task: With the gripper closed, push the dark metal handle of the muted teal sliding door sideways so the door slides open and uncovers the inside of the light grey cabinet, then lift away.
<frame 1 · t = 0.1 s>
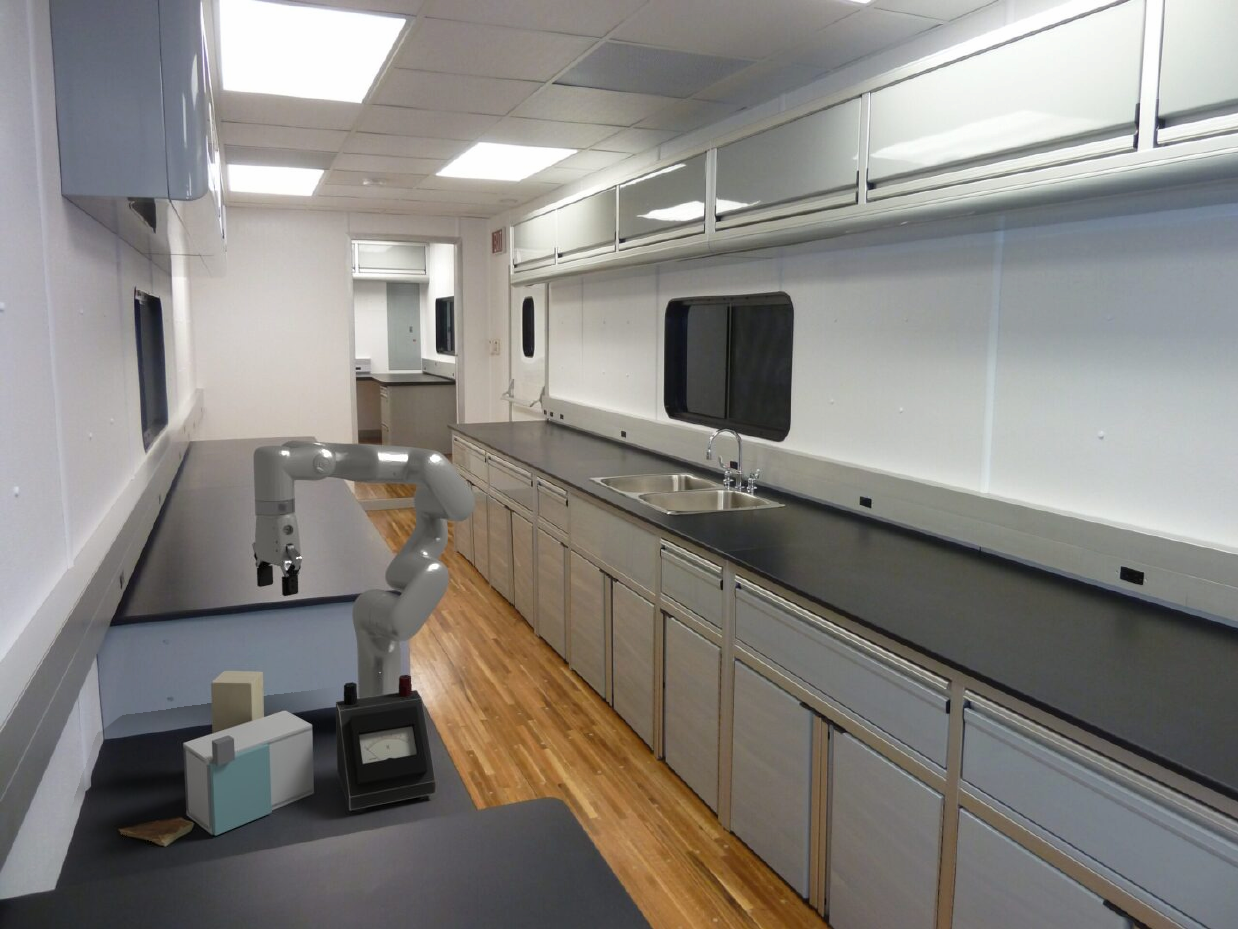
hand: (277, 590, 181), 37 cm above the counter, tool pointing down, fingers open, 9 cm apart
shard: (156, 840, 157), on the counter
storage cabinet: (251, 803, 168), on the counter
voltmeter: (385, 790, 175), on the counter
beige tall block: (241, 776, 179), on the counter
sliding door: (242, 779, 160), point 9 cm above the counter, slide at 0.0 cm
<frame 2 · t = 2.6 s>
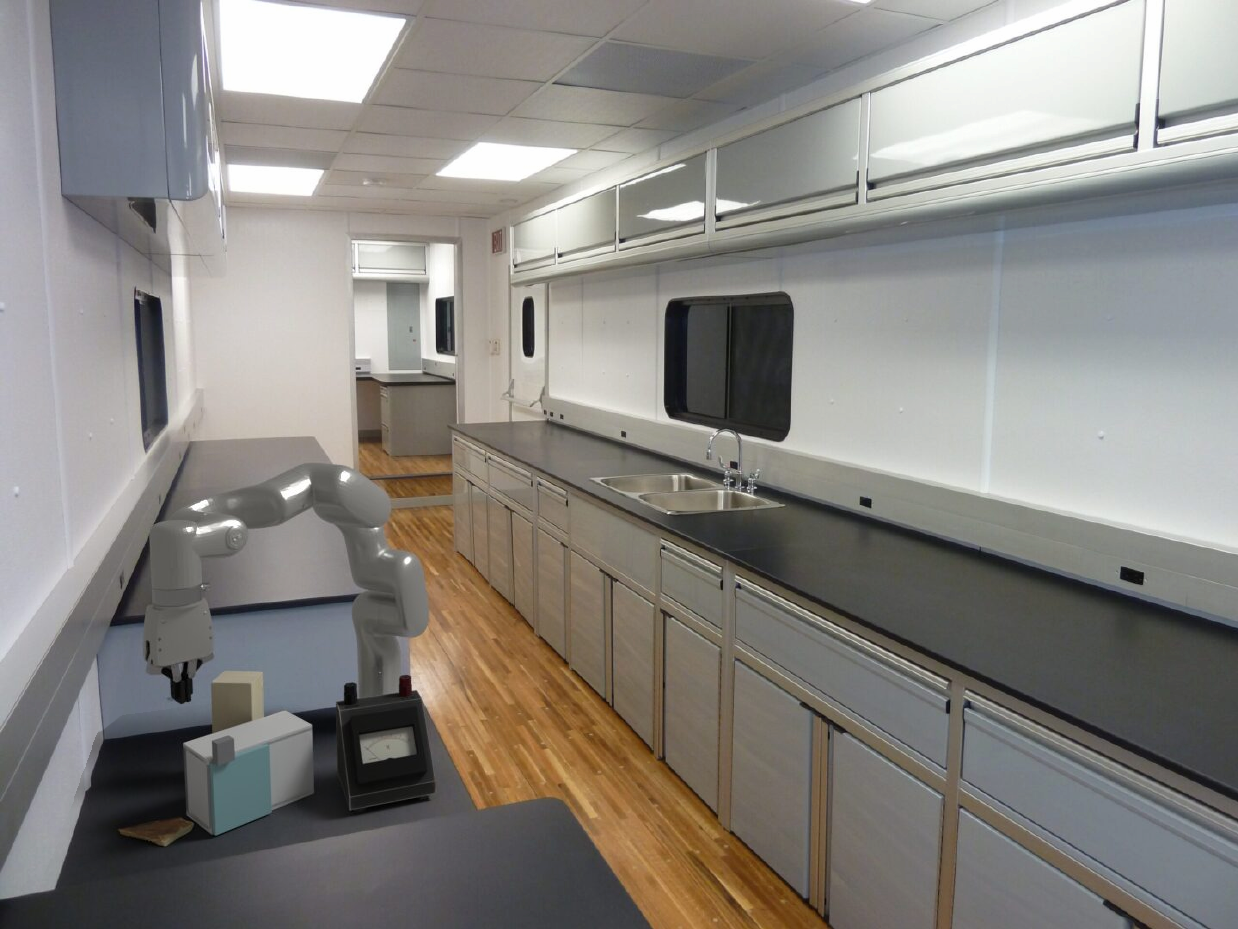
hand: (182, 700, 150), 27 cm above the counter, tool pointing down, fingers closed
nothing on the counter moved.
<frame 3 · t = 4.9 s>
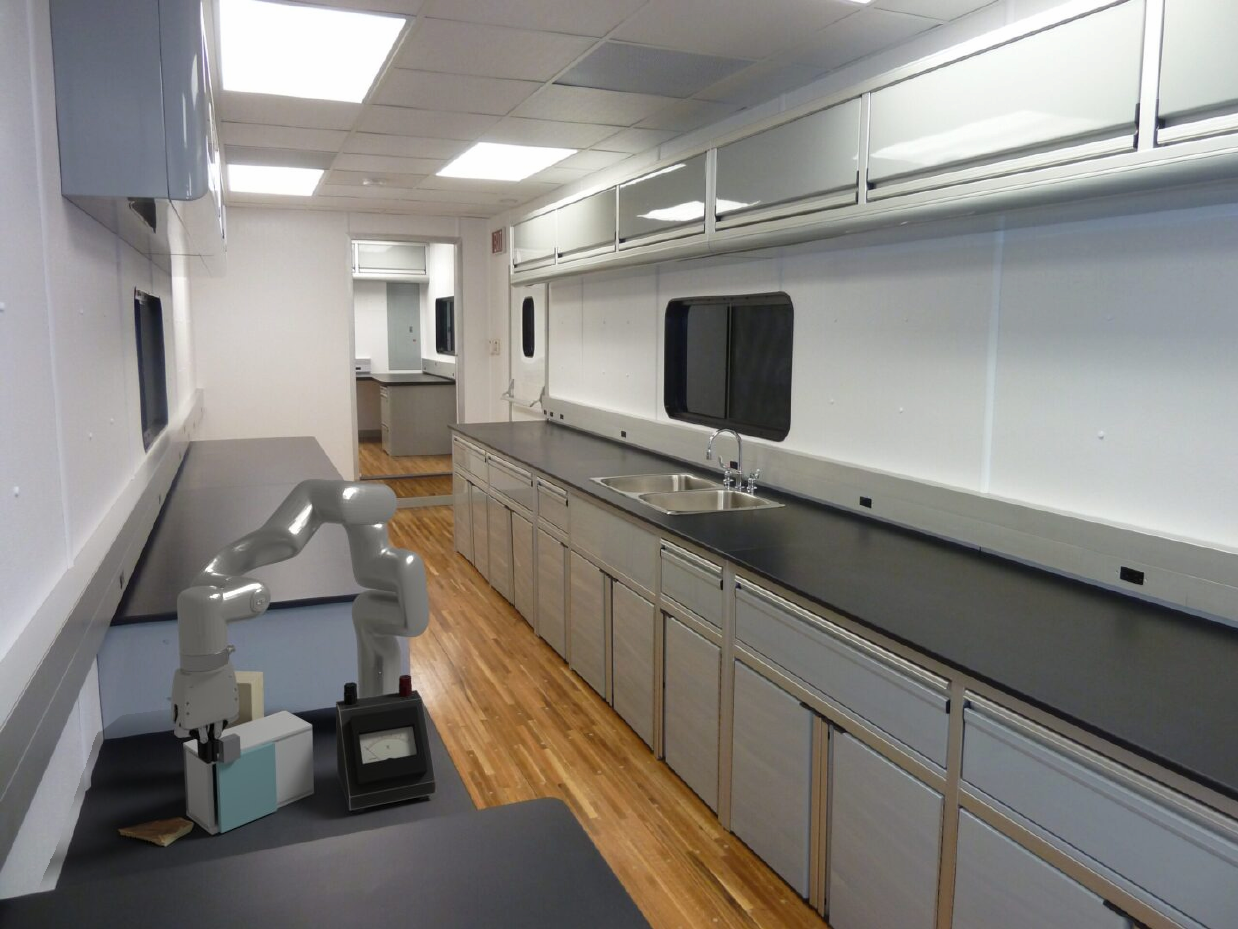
hand: (208, 760, 154), 15 cm above the counter, tool pointing down, fingers closed
sliding door: (248, 777, 160), point 9 cm above the counter, slide at 1.1 cm, touching gripper
everything else where it was.
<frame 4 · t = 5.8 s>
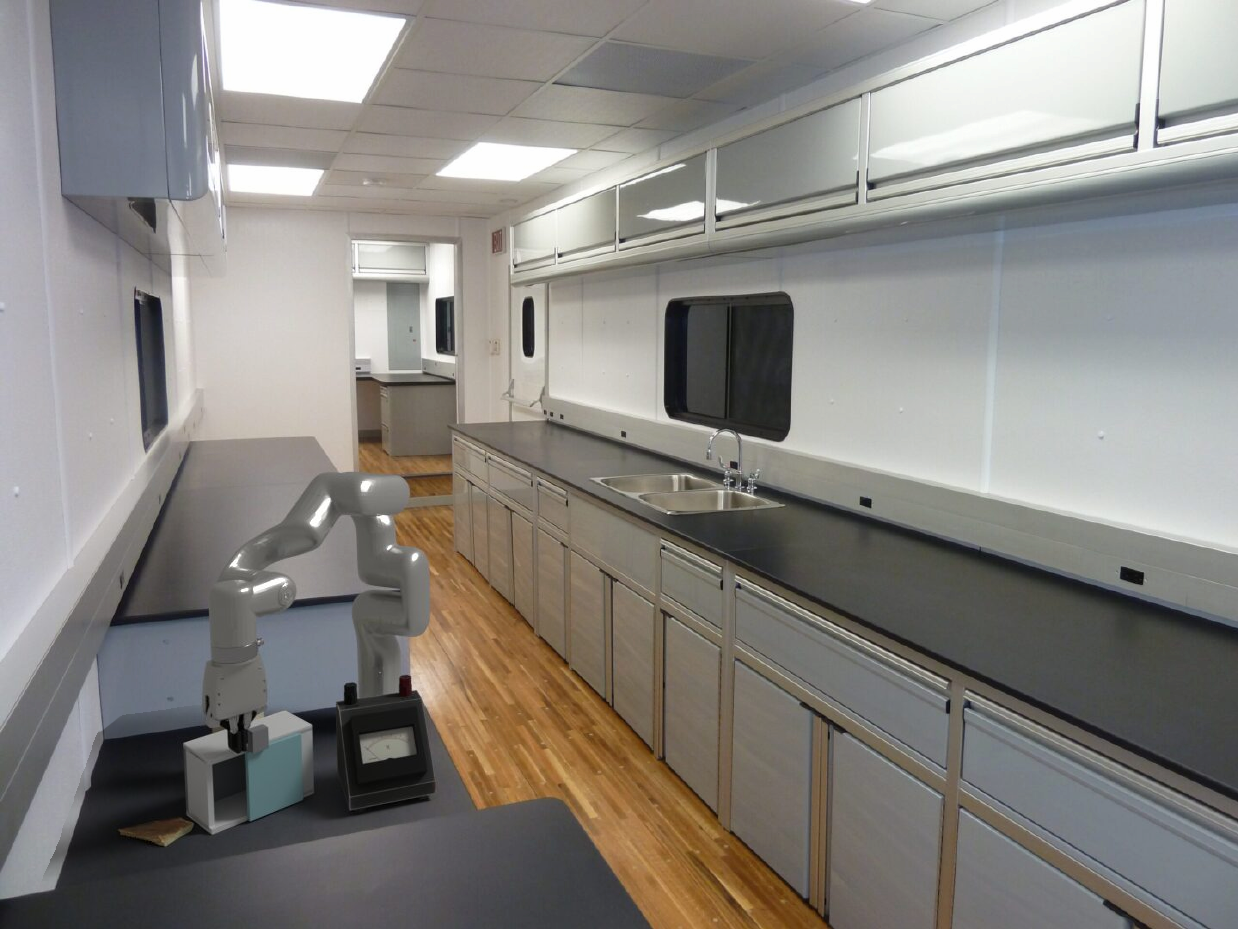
hand: (238, 750, 158), 15 cm above the counter, tool pointing down, fingers closed
sliding door: (275, 766, 164), point 9 cm above the counter, slide at 6.4 cm, touching gripper
everything else where it was.
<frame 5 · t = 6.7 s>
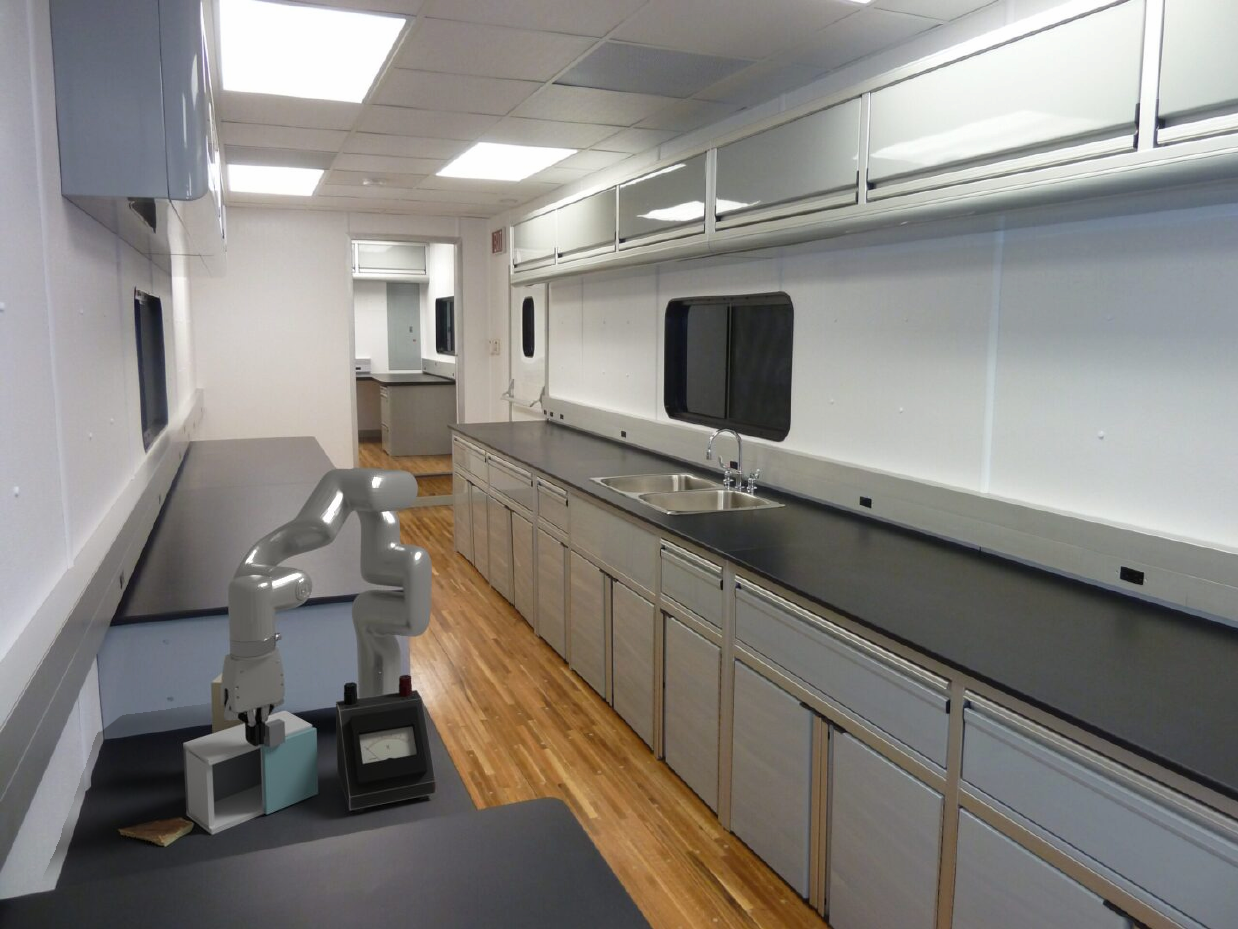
hand: (255, 743, 161), 15 cm above the counter, tool pointing down, fingers closed
sliding door: (291, 761, 167), point 9 cm above the counter, slide at 9.6 cm, touching gripper
everything else where it was.
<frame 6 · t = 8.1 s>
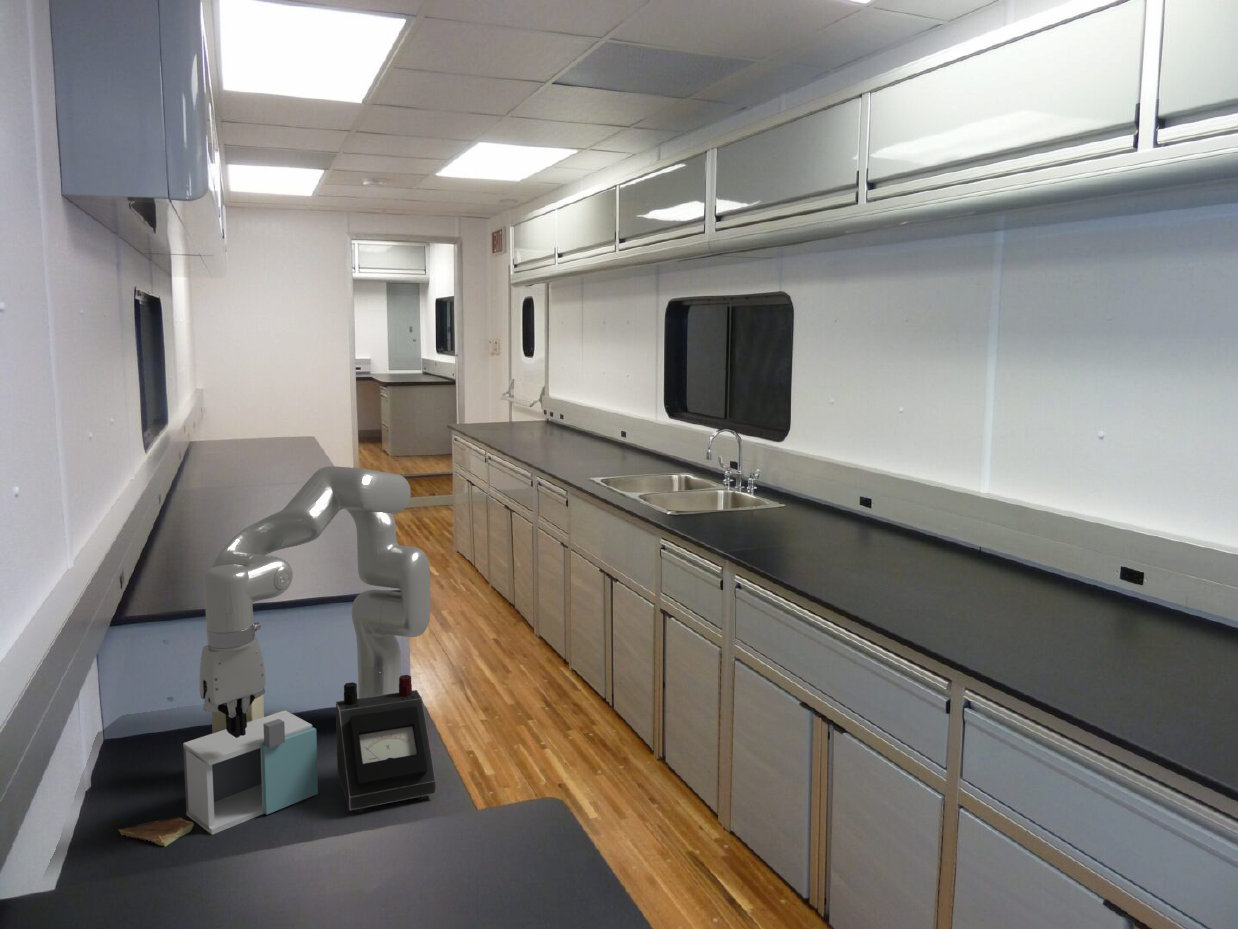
hand: (237, 734, 158), 18 cm above the counter, tool pointing down, fingers closed
sliding door: (291, 761, 167), point 9 cm above the counter, slide at 9.5 cm
everything else where it was.
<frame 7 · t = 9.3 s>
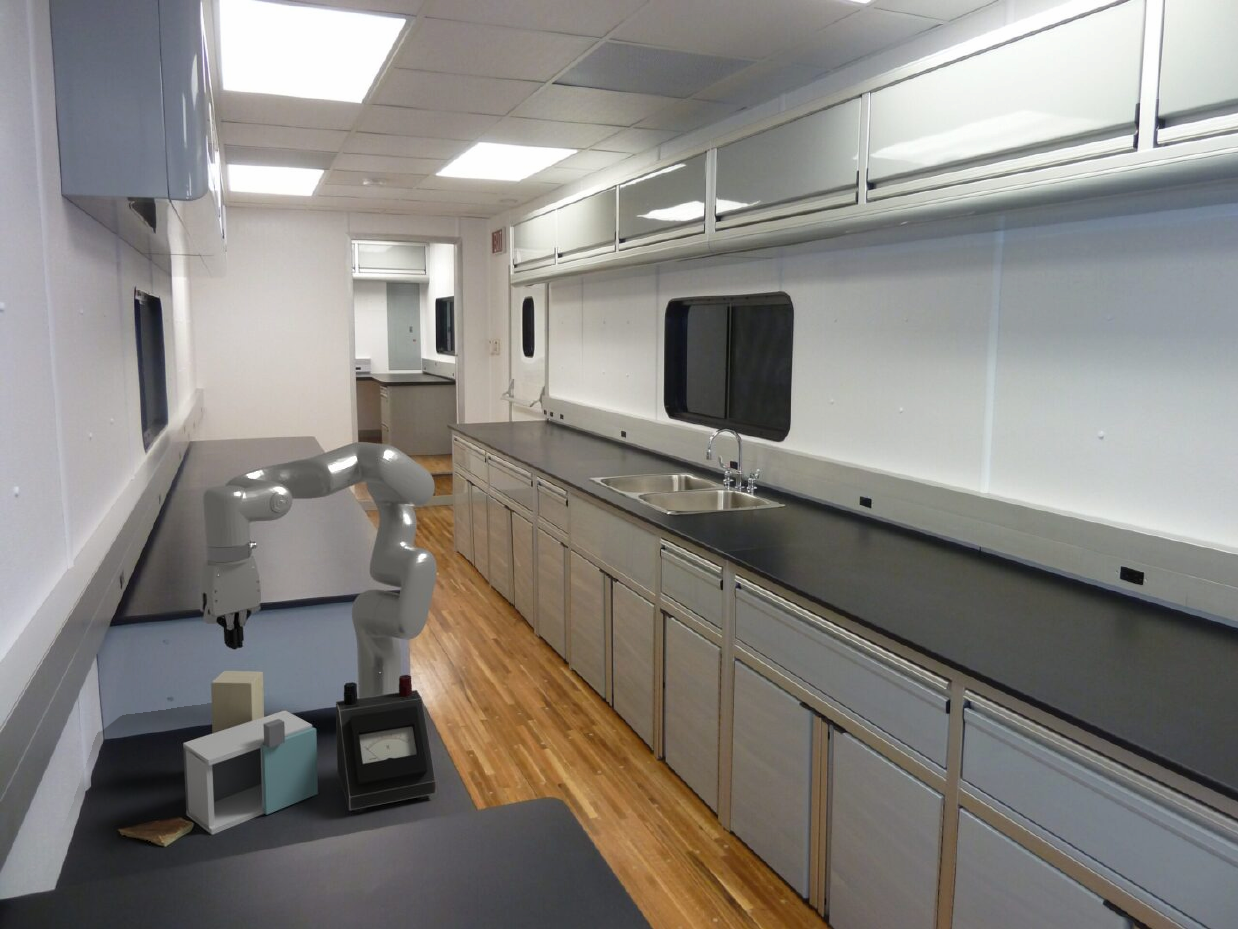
hand: (234, 646, 168), 30 cm above the counter, tool pointing down, fingers closed
nothing on the counter moved.
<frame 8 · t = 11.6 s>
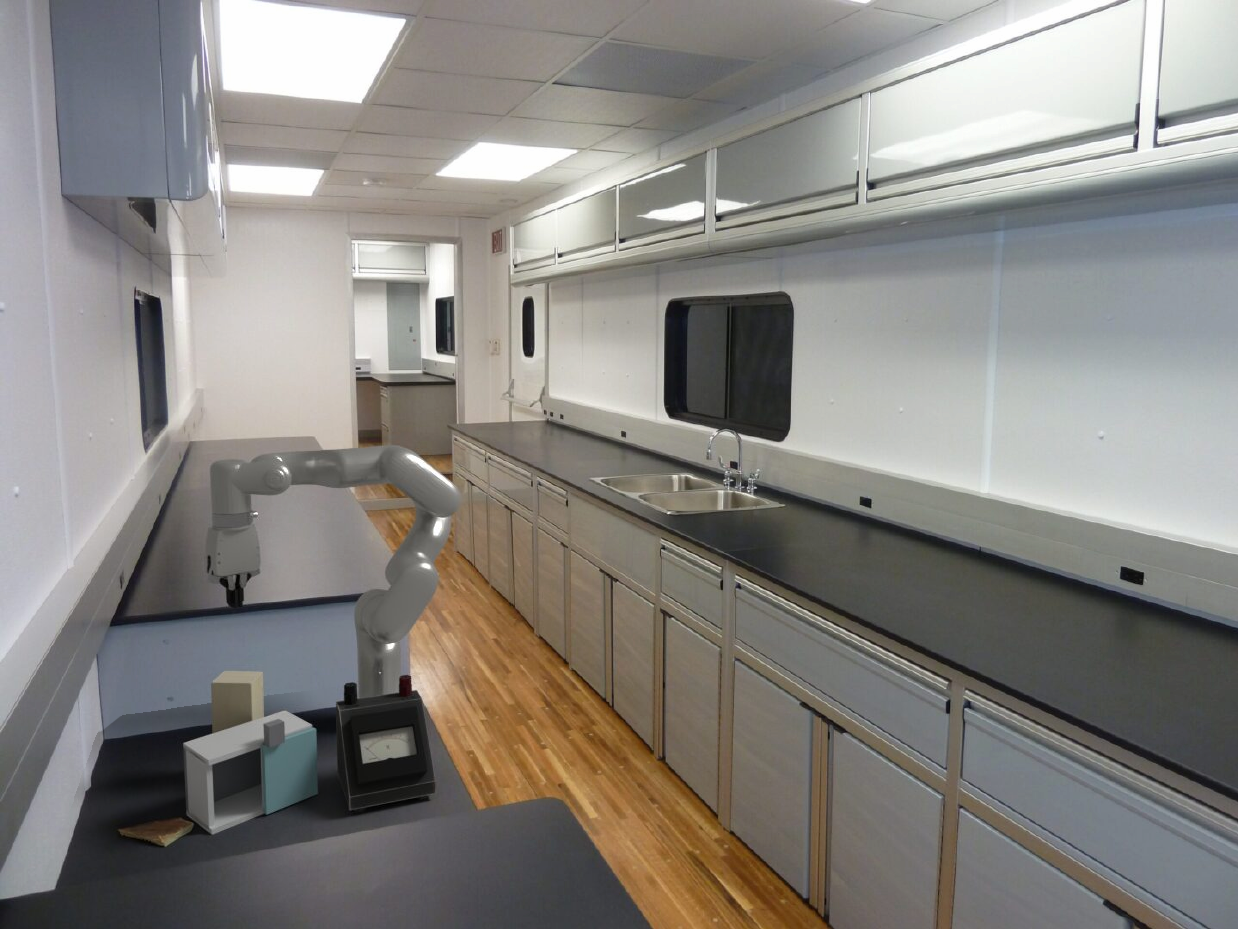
hand: (235, 606, 185), 32 cm above the counter, tool pointing down, fingers closed
nothing on the counter moved.
at the end: sliding door slide at 9.5 cm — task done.
